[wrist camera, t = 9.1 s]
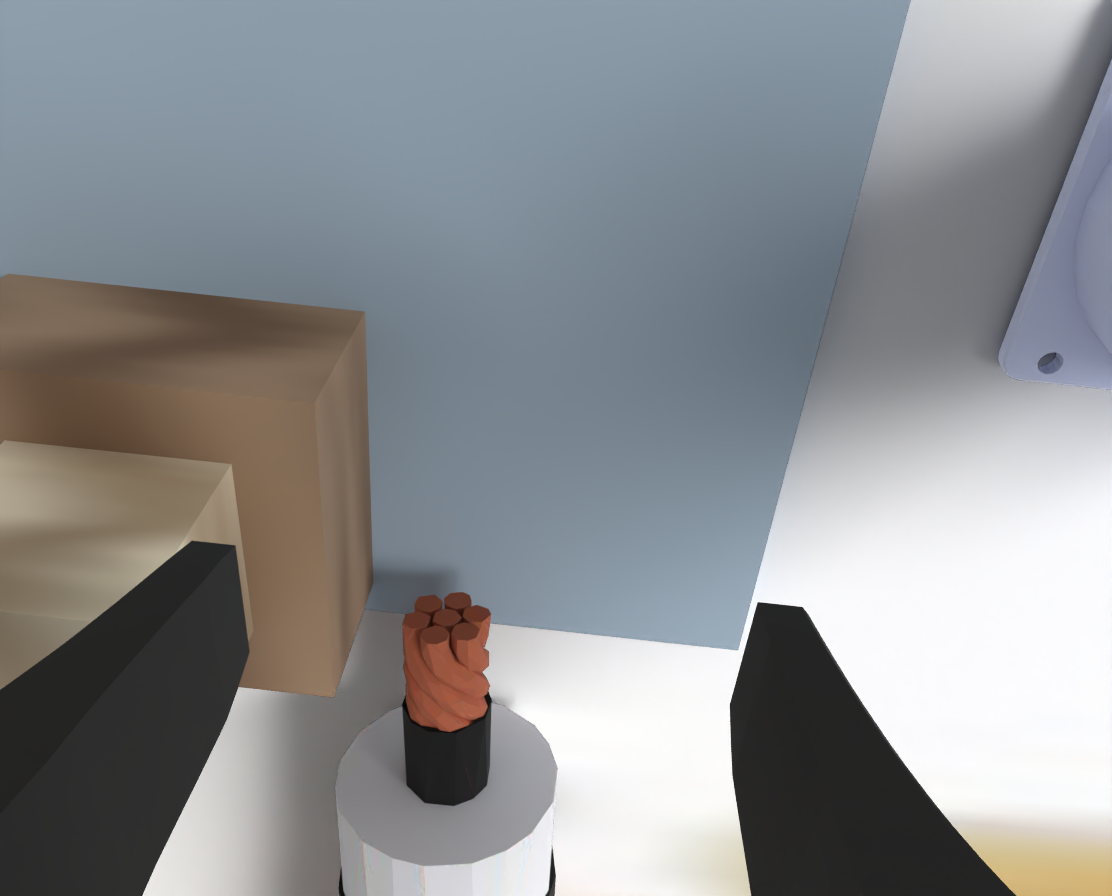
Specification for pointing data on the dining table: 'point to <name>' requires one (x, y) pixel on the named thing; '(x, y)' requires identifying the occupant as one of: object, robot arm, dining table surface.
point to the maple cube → (95, 536)
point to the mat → (489, 253)
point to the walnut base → (219, 435)
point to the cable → (447, 776)
